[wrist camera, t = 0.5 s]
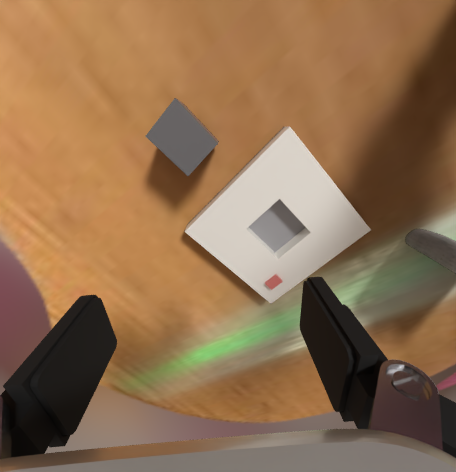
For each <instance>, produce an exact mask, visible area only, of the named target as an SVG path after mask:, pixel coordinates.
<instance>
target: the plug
mask: <svg viewBox="0 0 456 472" xmlns="http://www.w3.org/2000/svg"><path fill="white" fill-rule="evenodd" d="M146 137H147V138H148V139H149V140H150V141H151V142H152V143H153V144H154V145H155V146H156V147H157V148H158V149H160V150H161V151H162V152H163V153H164V154H165V155H166V156H167V157H168V158H169V159H170V160H171V161H172V162H173V163H174V164H175V165H177V166H178V167H179V168H180V169H181V170H182V171H183V172H184V173H185V174H186V175H187V176H189V175H190V174H191V173H192V172H193V170H194V169H195V168H196V167H197V166H198V165H199V164H200V163H201V162H202V161H203V159H204V158H205V157H206V156H207V155H208V154H209V153H210V152H211V151H212V149H213V148H214V147H215V146H216V145H217V144H218V142H219V141H218V140H217V139H216V138H215V137H214V136H213V135H212V133H211V132H210V131H209V130H208V129H207V128H206V127H205V126H204V125H203V124H202V123H201V122H200V121H199V120H198V119H197V117H196V116H195V115H194V114H193V113H192V112H191V111H190V110H189V109H188V108H187V107H186V106H185V105H184V104H183V103H182V102H180V101H179V100H178V99H176V98H175V99H174V100H173V101H172V103H171V104H170V105H169V107H168V108H167V109H166V110H165V112H164V113H163V114H162V116H161V117H160V118H159V119H158V121H157V122H156V123H155V125H154V126H153V127H152V128H151V130H150V131H149V132H148V134H147V135H146Z"/></svg>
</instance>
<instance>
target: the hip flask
mask: <svg viewBox="0 0 456 472" xmlns="http://www.w3.org/2000/svg"><path fill="white" fill-rule="evenodd" d="M406 243H407V244H408V245H409V246H411V247H413V248H414V249H416V250H418V251H419V252H421V253H423V254H424V255H426V256H428V257H429V258H431V259H433V260H434V261H436V262H437V263H439V264H441V265H442V266H444V267H446V268H447V269H449V270H451V271H452V272H454V273H456V241H454V240H452V239H450V238H448V237H445V236H443V235H440V234H438V233H434V232H431V231H427V230H423V229H415V230H413V231H411V232H410V233H409V234H408V235H407V237H406Z"/></svg>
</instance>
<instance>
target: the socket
mask: <svg viewBox="0 0 456 472" xmlns="http://www.w3.org/2000/svg"><path fill="white" fill-rule="evenodd" d="M370 230H371V229H370V228H369V227H368V225H367V224H366V223H365V222H364V220H363V219H362V218H361V217H360V215H359V214H358V213H357V211H356V210H355V209H354V208H353V206H352V205H351V204H350V203H349V201H348V200H347V199H346V197H345V196H344V195H343V194H342V192H341V191H340V190H339V188H338V187H337V186H336V185H335V183H334V182H333V181H332V180H331V178H330V177H329V176H328V174H327V173H326V172H325V171H324V169H323V168H322V167H321V166H320V164H319V163H318V162H317V160H316V159H315V158H314V157H313V155H312V154H311V153H310V152H309V150H308V149H307V148H306V146H305V145H304V144H303V143H302V141H301V140H300V139H299V138H298V136H297V135H296V134H295V132H294V131H293V130H292V129H291V127H290V126H288V127H283V128H282V129H281V130H280V131H279V132H278V133H277V134H276V135H275V136H274V137H273V138H272V139H271V140H270V141H269V142H268V143H267V144H266V145H265V146H264V147H263V148H262V149H261V150H260V151H259V152H258V153H257V154H256V155H255V156H254V157H253V158H252V159H251V160H250V161H249V162H248V163H247V164H246V166H245V167H244V168H243V169H242V170H241V171H240V172H239V173H238V174H237V175H236V176H235V177H234V178H233V179H232V180H231V181H230V182H229V183H228V184H227V185H226V186H225V187H224V188H223V189H222V190H221V191H220V192H219V193H218V194H217V195H216V196H215V197H214V198H213V199H212V200H211V201H210V202H209V203H208V204H207V205H206V206H205V207H204V208H203V209H202V210H201V211H200V212H199V213H198V214H197V215H196V216H195V217H194V218H193V219H192V220H191V221H190V222H189V223H188V224H187V227H186V229H185V232H186V233H187V234H188V235H189V236H190V237H192V238H193V239H194V240H195V241H196V242H198V243H199V244H200V245H201V246H202V247H204V248H205V249H206V250H207V251H208V252H210V253H211V254H212V255H213V256H214V257H216V258H217V259H218V260H219V261H220V262H222V263H223V264H224V265H225V266H226V267H228V268H229V269H230V270H231V271H232V272H234V273H235V274H236V275H237V276H238V277H240V278H241V279H242V280H243V281H244V282H245V283H247V284H248V285H249V286H250V287H251V288H253V289H254V290H255V291H256V292H257V293H259V294H260V295H261V296H262V297H263V298H265V299H266V300H267V301H268V302H269V303H273V302H274V301H275V300H277V299H278V298H279V297H281V296H282V295H284V294H285V293H286V292H288V291H289V290H290V289H292V288H293V287H294V286H296V285H297V284H298V283H300V282H301V281H303V280H304V279H305V278H307V277H308V276H309V275H311V274H312V273H313V272H315V271H316V270H318V269H319V268H320V267H322V266H323V265H324V264H326V263H327V262H328V261H330V260H331V259H332V258H334V257H335V256H337V255H338V254H339V253H341V252H342V251H343V250H345V249H346V248H347V247H349V246H350V245H351V244H353V243H354V242H356V241H357V240H358V239H360V238H361V237H362V236H364V235H365V234H366V233H368V232H369V231H370Z"/></svg>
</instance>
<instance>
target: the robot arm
mask: <svg viewBox="0 0 456 472" xmlns="http://www.w3.org/2000/svg"><path fill="white" fill-rule="evenodd" d="M300 330H301V333H302V335H303V338H304V340H305V343H306V345H307V347H308V350H309V352H310V354H311V357H312V359H313V361H314V364H315V366H316V368H317V371H318V373H319V376H320V378H321V380H322V383H323V385H324V387H325V390H326V392H327V394H328V397H329V399H330V401H331V404H332V406H333V408H334V410H335V411H336V412H340V414H341V416H342V419H343V421H344V422H346V421H354V422H355V424H356V426H357V428H358V429H330V430H314V431H297V432H283V433H271V434H259V435H246V436H234V437H222V438H210V439H200V440H188V441H175V442H165V443H152V444H141V445H130V446H119V447H109V448H98V449H87V450H76V451H66V452H55V453H46V454H44V453H45V451H46V450H47V448H48V446H49V447H59V446H65V445H66V443H67V441H68V439H69V437H70V435H72V434H73V433H74V432H75V431H76V429H77V427H78V425H79V423H80V421H81V419H82V417H83V415H84V413H85V411H86V409H87V407H88V405H89V402H90V400H91V398H92V396H93V394H94V392H95V390H96V388H97V386H98V384H99V382H100V380H101V378H102V376H103V373H104V371H105V369H106V367H107V365H108V363H109V361H110V359H111V357H112V355H113V353H114V351H115V349H116V345H117V339H116V336H115V334H114V331H113V329H112V326H111V323H110V321H109V318H108V315H107V313H106V310H105V308H104V305H103V302H102V300H101V298H98V297H97V296H96V295H86V296H81V297H79V298H78V300H77V301H76V302H75V303H74V304H73V305H72V306H71V308H70V309H69V310H68V311H67V312H66V313H65V315H64V316H63V317H62V318H61V319H60V320H59V322H58V323H57V324H56V325H55V326H54V327H53V329H52V330H51V331H50V332H49V333H48V334H47V336H46V337H45V338H44V339H43V340H42V341H41V343H40V344H39V345H38V346H37V347H36V348H35V350H34V351H33V352H32V353H31V354H30V355H29V357H28V358H27V359H26V360H25V361H24V362H23V364H22V365H21V366H20V367H19V368H18V369H17V371H16V372H15V373H14V374H13V375H12V376H11V378H10V379H9V380H8V381H7V382H6V383H5V384H4V386H3V387H4V388H5V389H6V390H5V391H4V392H3V393H2V394H1V395H0V472H456V403H455V402H453V401H451V400H449V399H447V398H445V397H443V396H441V395H440V394H439V393H438V389H437V387H436V386H435V384H434V382H433V381H432V380H431V379H430V378H429V377H428V376H427V375H426V374H425V373H424V372H423V371H421V370H420V369H419V368H417V367H415V366H413V365H411V364H410V363H407V362H404V361H401V360H388V359H387V358H386V357H385V355H384V354H383V353H382V351H381V350H380V349H379V347H378V346H377V345H376V343H375V342H374V341H373V339H372V338H371V337H370V335H369V334H368V333H367V332H366V330H365V329H364V328H363V326H362V325H361V324H360V322H359V321H358V320H357V318H356V317H355V316H354V314H353V313H352V312H351V310H350V309H349V308H348V307H347V306H346V305H342V304H341V302H340V301H339V300H338V298H337V297H336V296H335V294H334V293H333V292H332V290H331V289H330V287H329V286H328V285H327V283H326V282H325V281H324V279H323V278H322V277H311V278H308V279H307V281H304V283H303V294H302V305H301V316H300Z"/></svg>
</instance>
